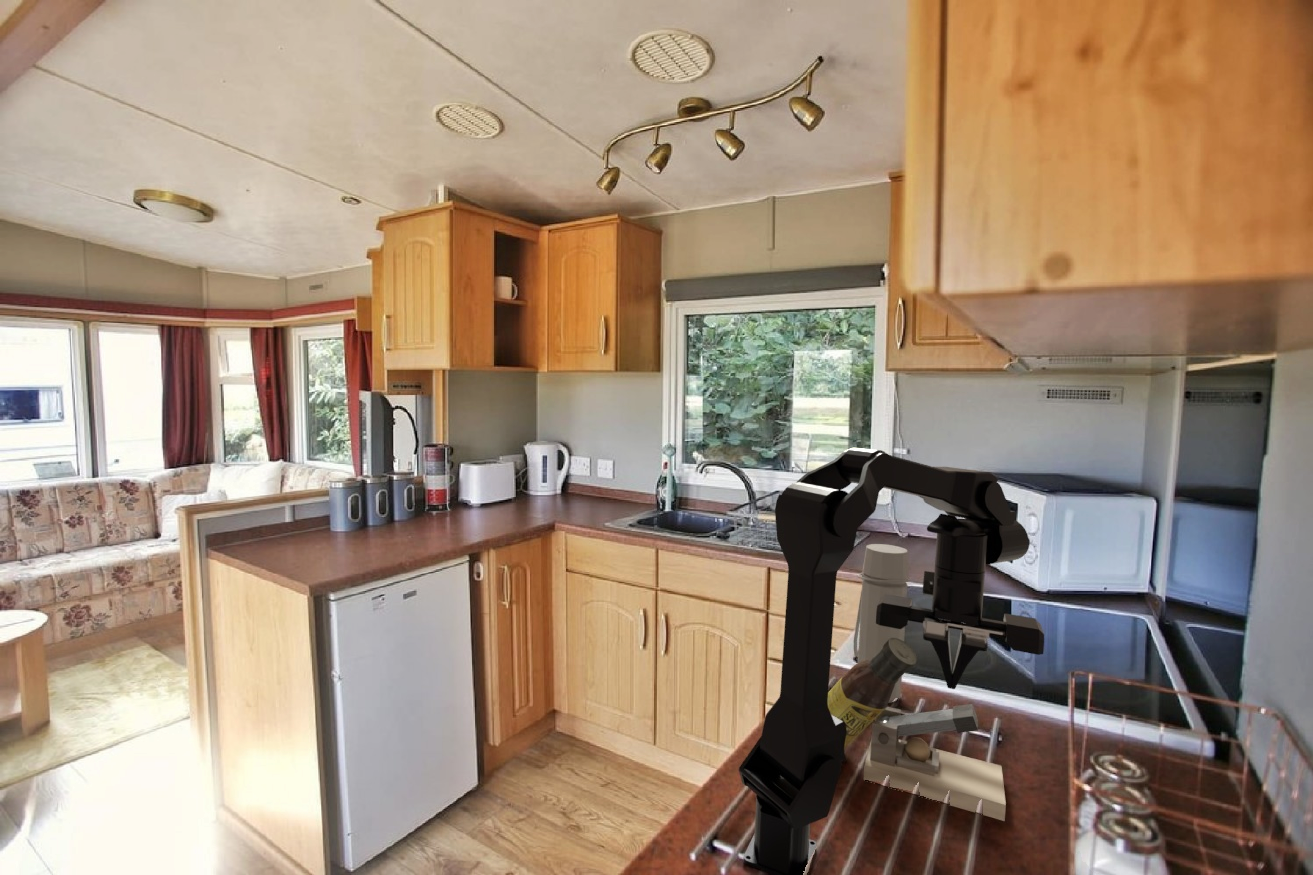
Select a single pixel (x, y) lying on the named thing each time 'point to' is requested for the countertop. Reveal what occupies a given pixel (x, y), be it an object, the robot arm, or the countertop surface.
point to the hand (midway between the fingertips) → (951, 687)
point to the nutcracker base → (934, 772)
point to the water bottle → (879, 577)
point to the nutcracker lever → (935, 721)
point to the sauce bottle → (869, 687)
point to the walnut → (917, 749)
